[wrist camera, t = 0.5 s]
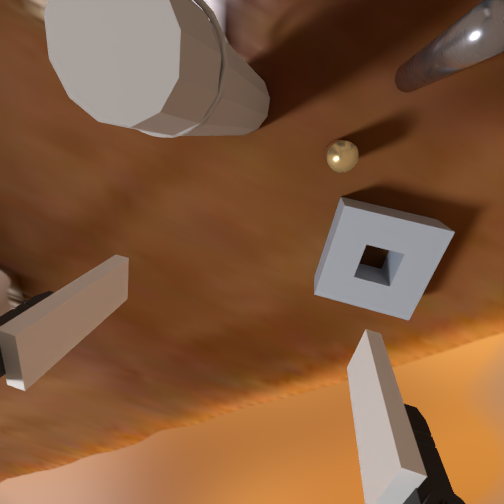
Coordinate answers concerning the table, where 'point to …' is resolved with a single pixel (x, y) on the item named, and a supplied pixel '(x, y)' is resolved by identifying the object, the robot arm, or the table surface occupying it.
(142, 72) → the water bottle
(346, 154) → the short pin
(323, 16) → the table surface
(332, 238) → the socket block
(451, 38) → the long pin
